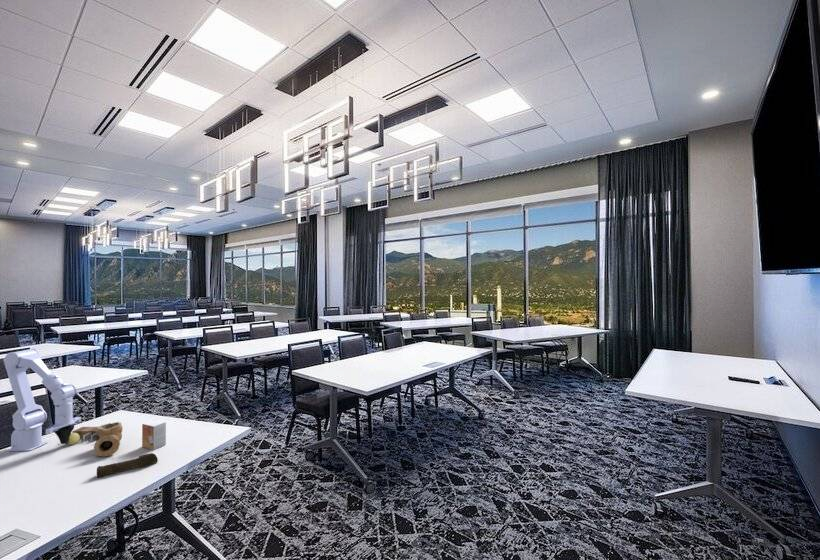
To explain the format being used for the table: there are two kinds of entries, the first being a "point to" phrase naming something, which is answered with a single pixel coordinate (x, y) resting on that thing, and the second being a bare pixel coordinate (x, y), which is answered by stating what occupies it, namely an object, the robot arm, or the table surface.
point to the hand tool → (127, 464)
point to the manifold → (87, 433)
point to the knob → (73, 438)
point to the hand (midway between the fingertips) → (64, 443)
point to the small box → (153, 434)
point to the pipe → (108, 439)
